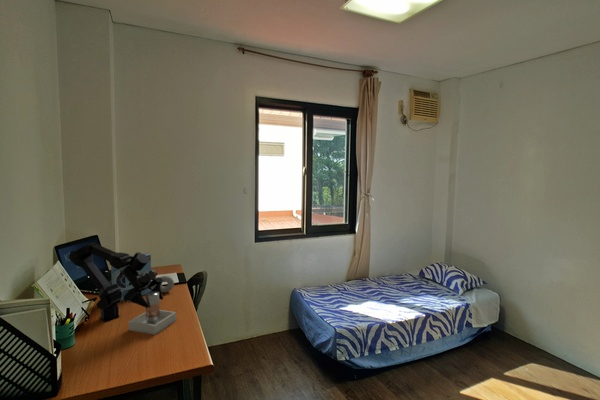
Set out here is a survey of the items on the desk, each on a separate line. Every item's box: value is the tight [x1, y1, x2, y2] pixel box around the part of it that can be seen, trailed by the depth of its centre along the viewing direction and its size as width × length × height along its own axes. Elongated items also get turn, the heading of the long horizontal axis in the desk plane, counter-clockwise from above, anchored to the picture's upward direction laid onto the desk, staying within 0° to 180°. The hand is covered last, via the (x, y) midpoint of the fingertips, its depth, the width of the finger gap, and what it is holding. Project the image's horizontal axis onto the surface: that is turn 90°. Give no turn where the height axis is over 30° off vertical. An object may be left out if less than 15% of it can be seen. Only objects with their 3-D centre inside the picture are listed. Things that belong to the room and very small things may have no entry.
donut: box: [160, 275, 175, 294], centre depth 182 cm, size 10×4×10 cm, turn 113°
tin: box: [144, 291, 161, 325], centre depth 142 cm, size 6×6×14 cm
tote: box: [127, 309, 177, 336], centre depth 143 cm, size 14×14×4 cm
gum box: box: [110, 253, 153, 302], centre depth 175 cm, size 20×5×23 cm, turn 134°
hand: (155, 303), depth 142 cm, fingers open, 9 cm apart
